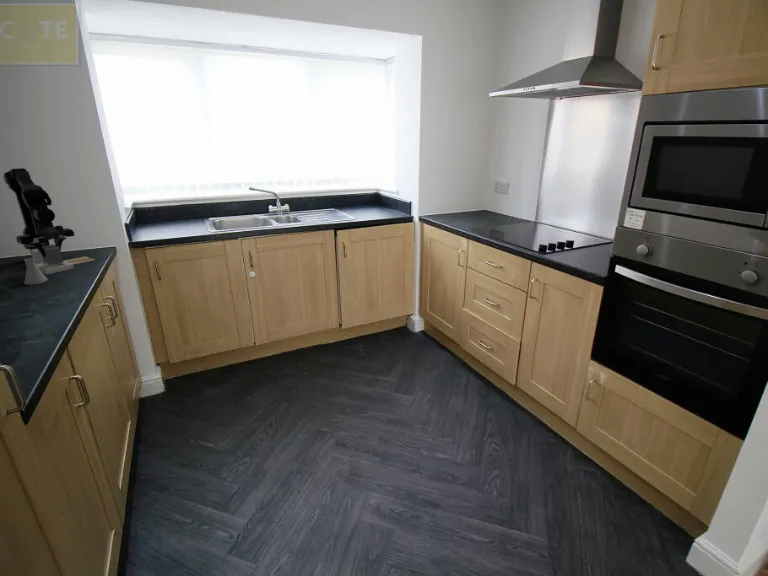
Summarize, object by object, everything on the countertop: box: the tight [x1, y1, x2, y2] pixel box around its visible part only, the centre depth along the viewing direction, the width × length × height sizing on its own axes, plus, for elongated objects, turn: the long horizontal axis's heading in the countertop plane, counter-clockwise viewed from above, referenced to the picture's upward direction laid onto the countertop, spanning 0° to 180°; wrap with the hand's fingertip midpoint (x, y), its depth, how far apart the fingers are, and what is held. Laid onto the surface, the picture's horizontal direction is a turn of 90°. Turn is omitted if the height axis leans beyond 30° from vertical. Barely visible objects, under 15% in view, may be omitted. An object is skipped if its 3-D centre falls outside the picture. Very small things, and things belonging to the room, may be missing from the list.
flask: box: [23, 257, 49, 285], centre depth 165 cm, size 7×7×10 cm
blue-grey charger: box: [29, 249, 43, 263], centre depth 187 cm, size 6×5×7 cm
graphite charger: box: [42, 244, 64, 265], centre depth 179 cm, size 6×5×7 cm
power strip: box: [24, 260, 75, 275], centre depth 186 cm, size 27×10×3 cm, turn 56°
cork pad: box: [64, 256, 96, 265], centre depth 195 cm, size 10×9×1 cm
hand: (51, 255), depth 179 cm, fingers closed on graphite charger, 5 cm apart
